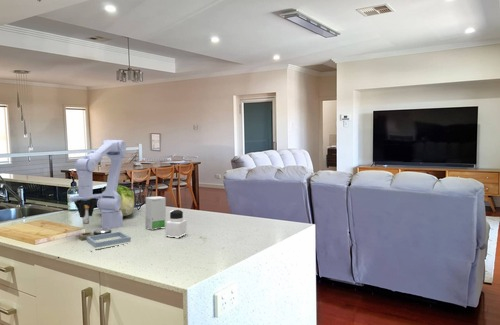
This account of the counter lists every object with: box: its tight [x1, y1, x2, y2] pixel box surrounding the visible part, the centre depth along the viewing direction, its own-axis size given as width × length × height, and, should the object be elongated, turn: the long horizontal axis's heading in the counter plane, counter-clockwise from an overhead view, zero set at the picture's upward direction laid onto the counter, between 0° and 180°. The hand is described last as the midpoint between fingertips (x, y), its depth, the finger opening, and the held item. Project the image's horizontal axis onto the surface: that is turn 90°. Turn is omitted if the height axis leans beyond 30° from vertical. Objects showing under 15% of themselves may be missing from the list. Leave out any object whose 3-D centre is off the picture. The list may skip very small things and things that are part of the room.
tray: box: [86, 231, 132, 251], centre depth 165 cm, size 15×12×3 cm
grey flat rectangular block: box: [75, 228, 112, 242], centre depth 173 cm, size 14×10×3 cm
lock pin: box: [82, 204, 90, 225], centre depth 170 cm, size 3×3×8 cm
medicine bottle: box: [165, 209, 187, 236], centre depth 179 cm, size 7×7×12 cm
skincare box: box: [144, 195, 167, 230], centre depth 192 cm, size 8×7×16 cm
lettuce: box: [101, 184, 136, 218], centre depth 218 cm, size 18×23×19 cm
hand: (86, 216), depth 170 cm, fingers closed on lock pin, 3 cm apart
